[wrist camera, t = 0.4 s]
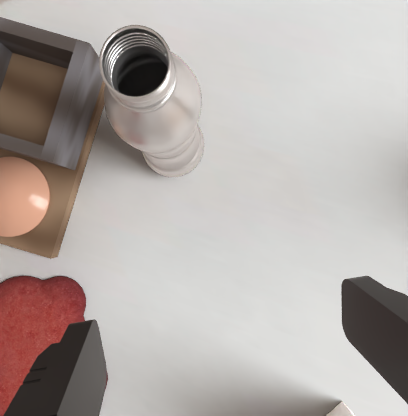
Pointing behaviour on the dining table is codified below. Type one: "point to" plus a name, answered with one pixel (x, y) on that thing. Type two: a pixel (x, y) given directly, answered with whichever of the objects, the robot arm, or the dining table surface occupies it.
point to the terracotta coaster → (21, 196)
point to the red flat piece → (33, 324)
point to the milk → (341, 410)
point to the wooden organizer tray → (48, 118)
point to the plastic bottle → (152, 99)
